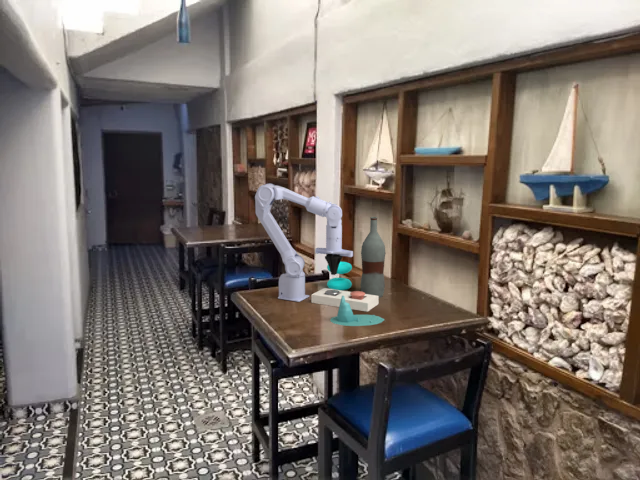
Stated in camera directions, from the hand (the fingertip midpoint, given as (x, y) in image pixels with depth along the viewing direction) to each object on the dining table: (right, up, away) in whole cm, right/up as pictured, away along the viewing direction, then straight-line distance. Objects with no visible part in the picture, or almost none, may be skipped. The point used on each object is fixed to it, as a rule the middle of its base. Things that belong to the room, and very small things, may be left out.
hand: (333, 274), depth 178 cm
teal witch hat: (+7, -14, -21) cm, 26 cm away
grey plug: (-1, -9, -2) cm, 9 cm away
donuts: (+3, -7, +17) cm, 19 cm away
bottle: (+15, -9, +6) cm, 18 cm away
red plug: (+8, -9, -6) cm, 14 cm away
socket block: (+4, -10, -4) cm, 12 cm away
